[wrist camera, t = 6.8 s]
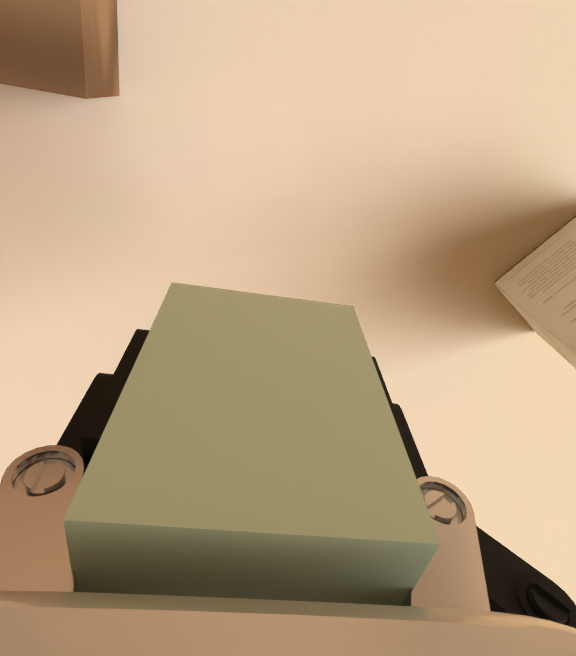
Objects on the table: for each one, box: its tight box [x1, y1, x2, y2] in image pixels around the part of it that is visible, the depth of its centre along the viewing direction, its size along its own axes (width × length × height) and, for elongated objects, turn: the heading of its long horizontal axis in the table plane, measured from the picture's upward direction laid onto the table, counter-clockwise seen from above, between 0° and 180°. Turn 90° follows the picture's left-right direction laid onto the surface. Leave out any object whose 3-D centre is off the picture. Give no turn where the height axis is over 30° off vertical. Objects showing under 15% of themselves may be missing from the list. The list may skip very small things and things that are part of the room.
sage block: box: [63, 283, 440, 606], centre depth 10 cm, size 5×5×7 cm
